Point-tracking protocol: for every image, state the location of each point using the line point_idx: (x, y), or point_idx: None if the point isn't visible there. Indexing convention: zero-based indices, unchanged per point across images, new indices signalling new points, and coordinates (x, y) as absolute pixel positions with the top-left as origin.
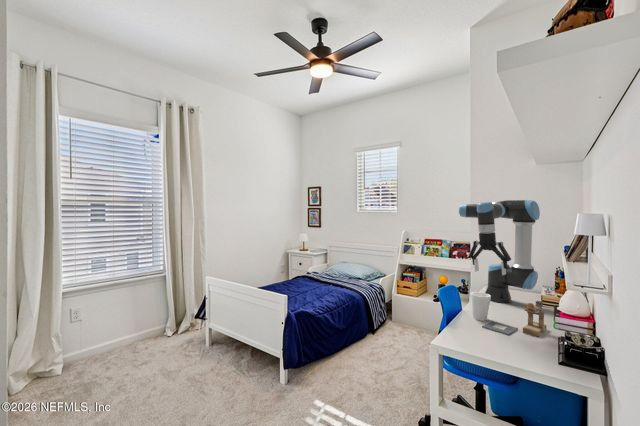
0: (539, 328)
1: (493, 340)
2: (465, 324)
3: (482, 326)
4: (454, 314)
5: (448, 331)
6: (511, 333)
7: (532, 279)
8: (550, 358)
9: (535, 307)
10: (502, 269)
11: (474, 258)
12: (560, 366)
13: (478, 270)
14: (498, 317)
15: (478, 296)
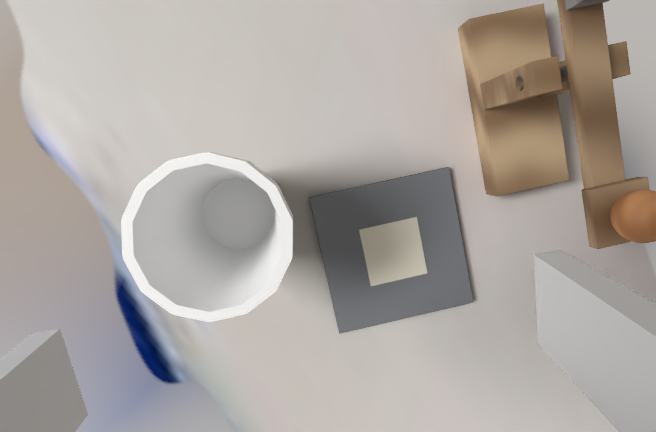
0: (549, 112)
1: (467, 425)
2: (269, 379)
3: (341, 332)
4: (120, 301)
5: None
6: (464, 263)
7: None
8: None
9: (591, 73)
10: (615, 407)
11: None
12: None
13: (60, 339)
14: (277, 77)
15: (241, 314)
